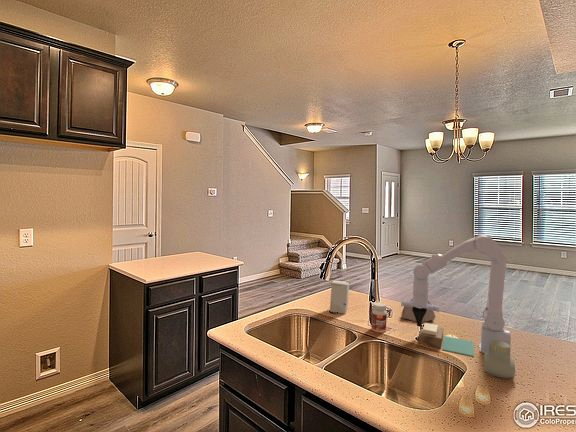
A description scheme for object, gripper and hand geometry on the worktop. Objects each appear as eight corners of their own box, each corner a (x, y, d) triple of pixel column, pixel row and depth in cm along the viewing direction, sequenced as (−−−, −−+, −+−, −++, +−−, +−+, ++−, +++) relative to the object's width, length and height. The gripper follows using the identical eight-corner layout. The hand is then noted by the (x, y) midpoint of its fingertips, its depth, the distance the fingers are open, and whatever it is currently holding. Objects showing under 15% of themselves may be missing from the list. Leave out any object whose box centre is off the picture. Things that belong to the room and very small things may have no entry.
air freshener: (515, 385, 104) (517, 353, 103) (484, 377, 108) (485, 347, 107) (511, 369, 113) (513, 340, 113) (483, 363, 117) (485, 335, 117)
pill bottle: (376, 333, 141) (377, 307, 141) (368, 328, 147) (369, 302, 146) (389, 332, 143) (390, 306, 142) (380, 326, 149) (381, 301, 148)
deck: (442, 337, 138) (443, 328, 138) (440, 348, 128) (441, 338, 128) (422, 333, 142) (422, 324, 142) (418, 344, 132) (419, 334, 131)
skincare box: (329, 311, 167) (330, 282, 166) (332, 308, 172) (333, 279, 172) (346, 314, 164) (347, 284, 163) (348, 310, 170) (349, 281, 169)
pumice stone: (401, 319, 158) (402, 299, 157) (401, 314, 165) (401, 294, 165) (436, 324, 154) (437, 302, 153) (434, 318, 161) (435, 298, 160)
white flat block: (437, 328, 137) (437, 325, 137) (436, 335, 130) (436, 331, 130) (424, 326, 140) (424, 322, 140) (422, 332, 133) (422, 329, 133)
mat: (473, 342, 134) (473, 341, 134) (473, 356, 122) (473, 355, 122) (444, 336, 139) (444, 335, 139) (442, 350, 127) (442, 349, 127)
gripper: (400, 292, 137) (399, 325, 138) (439, 298, 130) (437, 332, 131) (403, 288, 143) (402, 319, 144) (440, 294, 136) (438, 326, 137)
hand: (419, 325), depth 138 cm, fingers closed
